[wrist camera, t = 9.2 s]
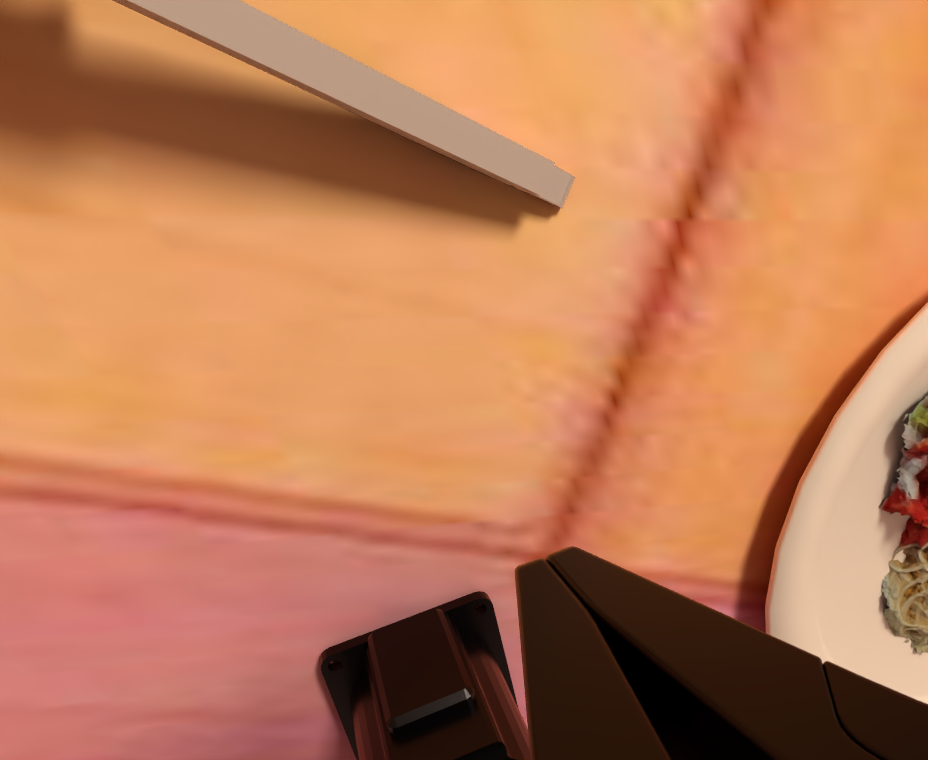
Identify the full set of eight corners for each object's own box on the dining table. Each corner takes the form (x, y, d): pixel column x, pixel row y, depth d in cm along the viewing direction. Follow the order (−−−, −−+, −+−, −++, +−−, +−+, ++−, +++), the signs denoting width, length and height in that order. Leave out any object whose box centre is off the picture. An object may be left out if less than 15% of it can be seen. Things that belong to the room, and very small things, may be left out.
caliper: (-308, -174, 13) (-743, -414, 7) (-301, -235, 13) (-745, -530, 7) (556, 207, 21) (669, 234, 15) (570, 174, 21) (690, 188, 15)
